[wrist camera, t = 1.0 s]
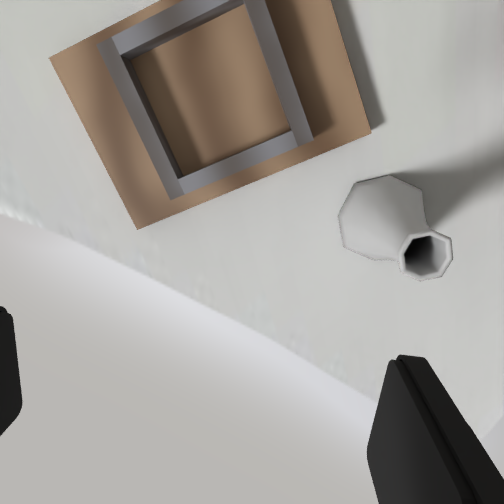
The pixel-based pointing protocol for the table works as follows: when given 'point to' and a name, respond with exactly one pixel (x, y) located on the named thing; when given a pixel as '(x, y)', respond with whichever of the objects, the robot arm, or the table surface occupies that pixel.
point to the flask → (393, 228)
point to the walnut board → (211, 97)
